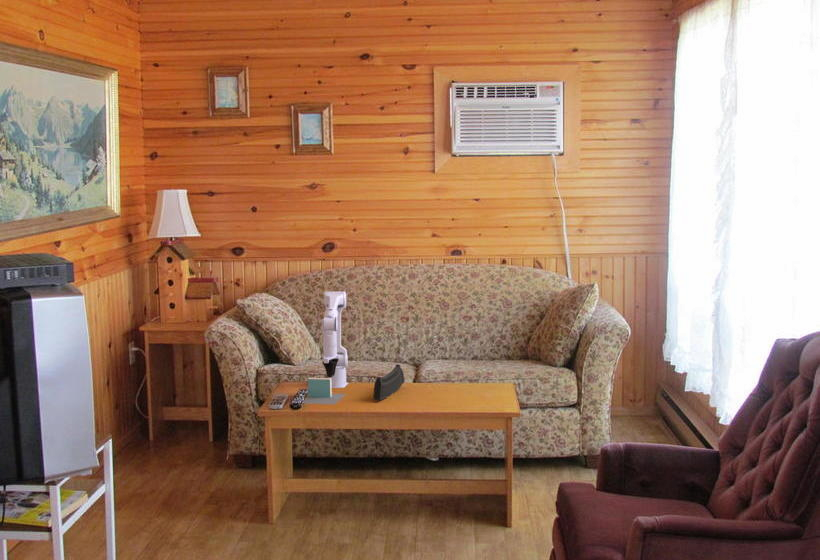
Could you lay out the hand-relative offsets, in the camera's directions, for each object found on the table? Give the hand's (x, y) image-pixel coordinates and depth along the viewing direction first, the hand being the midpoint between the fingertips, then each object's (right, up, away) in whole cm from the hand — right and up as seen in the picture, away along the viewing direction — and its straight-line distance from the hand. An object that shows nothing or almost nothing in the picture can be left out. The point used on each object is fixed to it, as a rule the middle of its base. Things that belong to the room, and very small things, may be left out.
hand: (330, 376), depth 396 cm
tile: (-5, -10, +5) cm, 12 cm away
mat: (-6, -10, +2) cm, 12 cm away
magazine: (+25, -9, +10) cm, 28 cm away
